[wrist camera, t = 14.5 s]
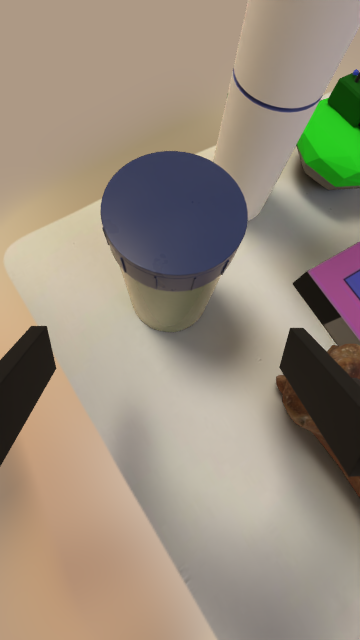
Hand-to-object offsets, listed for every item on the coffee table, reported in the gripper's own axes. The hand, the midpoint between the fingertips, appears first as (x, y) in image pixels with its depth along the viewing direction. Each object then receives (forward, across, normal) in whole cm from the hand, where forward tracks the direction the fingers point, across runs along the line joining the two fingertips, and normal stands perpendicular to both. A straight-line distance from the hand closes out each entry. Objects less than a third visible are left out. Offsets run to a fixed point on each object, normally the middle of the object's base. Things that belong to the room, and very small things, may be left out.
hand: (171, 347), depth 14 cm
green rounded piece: (+26, +21, +10) cm, 34 cm away
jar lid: (+4, 0, +6) cm, 8 cm away
